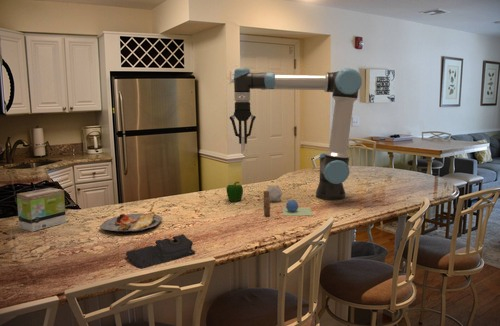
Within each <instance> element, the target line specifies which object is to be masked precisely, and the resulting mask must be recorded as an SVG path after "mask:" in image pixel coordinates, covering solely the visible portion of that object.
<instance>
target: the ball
mask: <svg viewBox="0 0 500 326" xmlns="http://www.w3.org/2000/svg"><path fill="white" fill-rule="evenodd" d="M298 207H299V203H298V202H297V201H296V200H294V199H289V200H288V201H287V202H286V204H285V208H287V210H288V211H290V212H295V211H296V210H297V209H298Z"/></svg>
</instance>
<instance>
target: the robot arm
mask: <svg viewBox="0 0 500 326" xmlns="http://www.w3.org/2000/svg"><path fill="white" fill-rule="evenodd" d="M362 83H363V81H362V76H361V74H360V73H359V71H357V70H356V69H354V68H349V67H347V68H343V69H340V70H338V71H334V72H326V73H324V74H301V73H300V74H296V73H295V74H290V73H289V74H288V73H287V74H283V73H282V74H278V73H277V74H276V73H274V72H269V71H268V72H251V70H250V68H247V67H246V68H241V67H239V68H236V69H234V74H233V85H234V86H233V88H234V101H235V102H234V112H233V114H232V115H230V116H229V120H230V121H231V124H232V128H233V132H234V135H235V137H238V144H239V145H241V152H245V151H246V149H245V148H246V144H247V143H248V137H250V136H251V135H252V134H251V133H252V130H253V125H254V121H255V119H256V116H255V115H253V113H252V111H251V102H250V101H251V90H263V91H264V90H289V91H290V90H295V91H296V90H297V91H301V90H303V91H305V90H307V91H310V90H311V91H324V92H325V93H332V98H333V100H334V107H333V114H332V121H331V129H330V139H329V145H328V146H329V147H328V151H326V152H324V153H323V152H322V153H320V155H319V159H318V160H319V183H318V186H317V188H316V191H315V197H316V198H318V199H322V200H328V201H330V200H331V201H333V200H334V201H335V200H342V199H345V198H346V191H345V187H344V184H343V182H345V181H346V180H347V179H348V177H349V176H350V166H349V165H350V164H349V163H350V155H349V154H348V146H349V139H350V131H351V125H352V124H351V123H352V116H353V110H354V109H353V108H354V103H355V102H356V101H358V97H359V90H360V89H361V87H362ZM235 119H236V120H237V121H238V129H237V125H236V122H235ZM249 119H250V125H249V129H248V128H247V127H248V120H249ZM242 122H243V128H244V129H242ZM242 130H243V131H244V132H243V131H242ZM242 133H244V136H243V135H242Z"/></svg>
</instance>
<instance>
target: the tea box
mask: <svg viewBox="0 0 500 326" xmlns="http://www.w3.org/2000/svg"><path fill="white" fill-rule="evenodd" d="M16 202H17V203H16V204H17V205H16V206H17V216H18V228H19V229H21V230H24V231H28V232H31V233H33V232H36V231H39V230H42V229H47V228H51V227H54V226H57V225H62V224H66V223H67V219H66V218H67V217H66V216H67V214H66V203H65V190H64V189H60V188H59V189H58V188H54V187H48V188H47V187H46V188H41V189H36V190H32V191H31V190H30V191H26V192H25V191H24V192H19V193H16Z"/></svg>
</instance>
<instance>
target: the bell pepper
mask: <svg viewBox="0 0 500 326" xmlns="http://www.w3.org/2000/svg"><path fill="white" fill-rule="evenodd" d="M225 189H226V195H227V199H228V200H229V202H238V201H239V202H240V201H241V199H242V198H243V193H244V191H243V190H244V187H243V186H242V184H240V181H234V183H233V184H228V185H227V187H226V188H225Z"/></svg>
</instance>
